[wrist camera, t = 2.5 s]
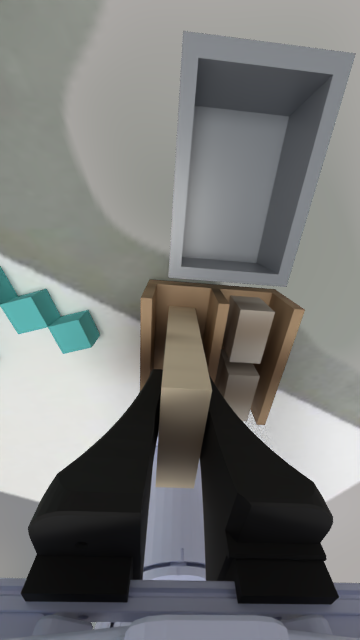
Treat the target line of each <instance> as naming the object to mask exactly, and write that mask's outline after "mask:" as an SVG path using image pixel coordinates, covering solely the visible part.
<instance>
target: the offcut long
mask: <svg viewBox="0 0 360 640" xmlns="http://www.w3.org/2000/svg"><path fill="white" fill-rule="evenodd" d="M259 378H260V376H259V374H258V372H257V370H256V368H255V366H254V365H253V363H240V362H229V359H228V356H227V354H226V351H225V349H221V353H220V358H219V364H218V369H217V374H216V379H215V385H216V387H217V388H218V390H219V391H220V393H221V394H222V396H223V397H224V399H225V400H226V401H227V403H228V404H229V405H230V407H231V408H232V409H233V411H234V412H235V413H236V414H237V416H238V417H239V418H240V419H241V420H242V421H247V418H248V415H249V411H250V408H251V405H252V401H253V398H254V395H255V391H256V388H257V385H258V381H259Z"/></svg>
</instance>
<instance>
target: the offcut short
mask: <svg viewBox="0 0 360 640" xmlns="http://www.w3.org/2000/svg"><path fill="white" fill-rule="evenodd" d="M229 304H230V306H229V311H228V316H227V322H226V327H225V332H224V337H223V346H224V348H225V351H226V354H227V356H228V359H229V362H240V363H257V364H260V363H261V359H262V356H263V352H264V349H265V346H266V342H267V339H268V335H269V332H270V328H271V325H272V321H273V318H274V314H275V311H273V310H272V309H271V308H270V307H269V306H268V305H267V304H266V303H265V302H264V301H263V300H261V299H260V298H259V297H245V296H232V295H230V300H229Z"/></svg>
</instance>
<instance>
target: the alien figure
mask: <svg viewBox="0 0 360 640" xmlns="http://www.w3.org/2000/svg"><path fill="white" fill-rule="evenodd" d="M0 306H1V308H2V309H3V311H4V313H5V314H6V316H7V317H8V319H9V320H10V322H11V323H12V325H13V327H14V328H15V330H16V331H17V333H18V334H21V333H26V332H30V331H34V330H38V329H42V328H46V327H48V328H49V330H50V332H51V333H52V335H53V337H54V339H55V341H56V342H57V344H58V346H59V348H60V349H61V351H62V353H63V354H64V353H69V352H73V351H78V350H82V349H86V348H91V347H92V346H93V345H94V343H95V342H96V340H97V339H98V337H99V336H100V334H99V332H98V330H97V328H96V326H95V323H94V321H93V319H92V317H91V315H90V313H89V310H86V311H82V312H78V313H74V314H70V315H65V316H60V314H59V312H58V310H57V308H56V306H55V305H54V303H53V301H52V299H51V297H50V295H49V293H48V291H47V289H44V290H41V291H37V292H33V293H29V294H25V295H21V296H18V295H17V293H16V292H15V290H14V288H13V287H12V285H11V283H10V282H9V280H8V278H7V277H6V275H5V273H4V271H3V270H2V268H1V266H0Z"/></svg>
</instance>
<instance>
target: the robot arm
mask: <svg viewBox="0 0 360 640" xmlns="http://www.w3.org/2000/svg"><path fill="white" fill-rule="evenodd" d="M162 375H163V370H162V369H153V370H152V371H151V373H150V376H149V378H148V380H147V381H146V383H145V385H144V387H143V388H142V390H141V391H140V393H139V395H138V396H137V397H136V399H135V400H134V402H133V403H132V404H131V406H130V407H129V408H128V409H127V411H126V412H125V413H124V414H123V416H122V417H121V418H120V419H119V420H118V421H117V422H116V423H115V424H114V425H113V427H112V428H111V429H110V430H109V431H108V432H107V433H106V434H105V435H104V436H103V437H102V438H101V439H99V440H98V441H97V442H96V443H95V444H94V445H93V446H92V447H90V448H89V449H88V450H87V451H86V452H85V453H84V454H82V455H81V456H80V457H79V458H77V459H76V460H75V461H73V462H72V463H71V464H70V465H68V466H67V467H66V468H64V469H63V470H62V471H60V472H59V473H58V474H57V475H56V477H55V478H54V480H53V481H52V483H51V484H50V486H49V488H48V489H47V491H46V492H45V494H44V496H43V498H42V499H41V501H40V503H39V505H38V508H37V510H36V512H35V514H34V516H33V518H32V520H31V522H30V525H29V527H28V532H29V536H30V539H31V541H32V543H33V546H34V548H35V550H36V553H37V556H36V558H35V560H34V563H33V565H32V567H31V570H30V572H29V574H28V577H27V578H0V640H360V583H333V582H332V579H331V577H330V575H329V572H328V570H327V568H326V565H325V563H324V561H325V560H326V555H325V552H324V550H323V548H322V546H321V543H320V542H321V541H322V540H323V538H324V537H325V536H326V534H327V533H328V532H329V530H330V528H331V526H332V524H333V516H332V514H331V512H330V510H329V508H328V507H327V505H326V503H325V501H324V499H323V497H322V495H321V494H320V492H319V490H318V489H317V487H316V486H315V484H314V482H312V481H311V480H310V479H308V478H307V477H306V476H304V475H303V474H301V473H300V472H299V471H297V470H296V469H295V468H293V467H292V466H290V465H289V464H288V463H287V462H285V461H284V460H283V459H282V458H281V457H279V456H278V455H277V454H276V453H274V452H273V451H272V450H271V449H270V448H269V447H268V446H267V445H265V444H264V443H263V442H262V441H261V440H260V439H259V438H258V437H257V436H256V435H255V434H254V433H253V432H252V431H251V430H250V429H249V428H248V427H247V426H246V425H245V424H244V423H243V421H242V420H241V419H240V418H239V417H238V416H237V414H236V413H235V412H234V411H233V409H232V408H231V407H230V405H229V404H228V403H227V401H226V400H225V399H224V397H223V396H222V394H221V393H220V391H219V390H218V388H217V387H216V385H215V384H214V382H213V380H212V378H211V377H210V375H209V377H210V382H211V387H212V394H211V399H210V404H209V410H208V415H207V420H206V426H205V431H204V436H203V442H202V447H201V452H200V458H199V463H198V469H197V474H196V479H195V485H194V488H167V487H156V470H157V453H158V436H159V435H158V432H159V419H160V402H161V386H162ZM91 622H96V625H95V628H94V629H93V630H92V628H93V626H92V624H91Z"/></svg>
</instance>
